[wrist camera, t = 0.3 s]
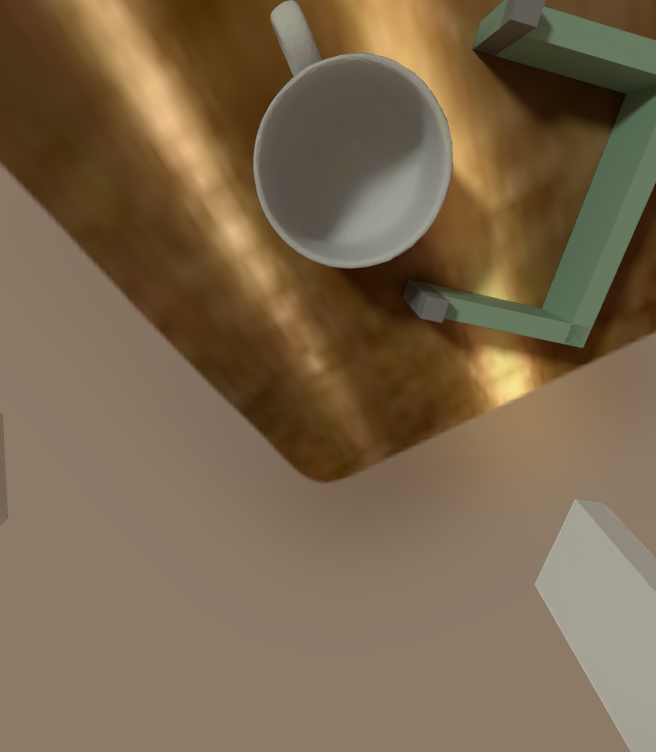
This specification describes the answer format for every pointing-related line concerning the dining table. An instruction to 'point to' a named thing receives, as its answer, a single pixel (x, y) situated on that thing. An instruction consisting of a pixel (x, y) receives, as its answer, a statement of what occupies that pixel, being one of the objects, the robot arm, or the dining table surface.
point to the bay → (608, 188)
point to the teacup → (349, 153)
